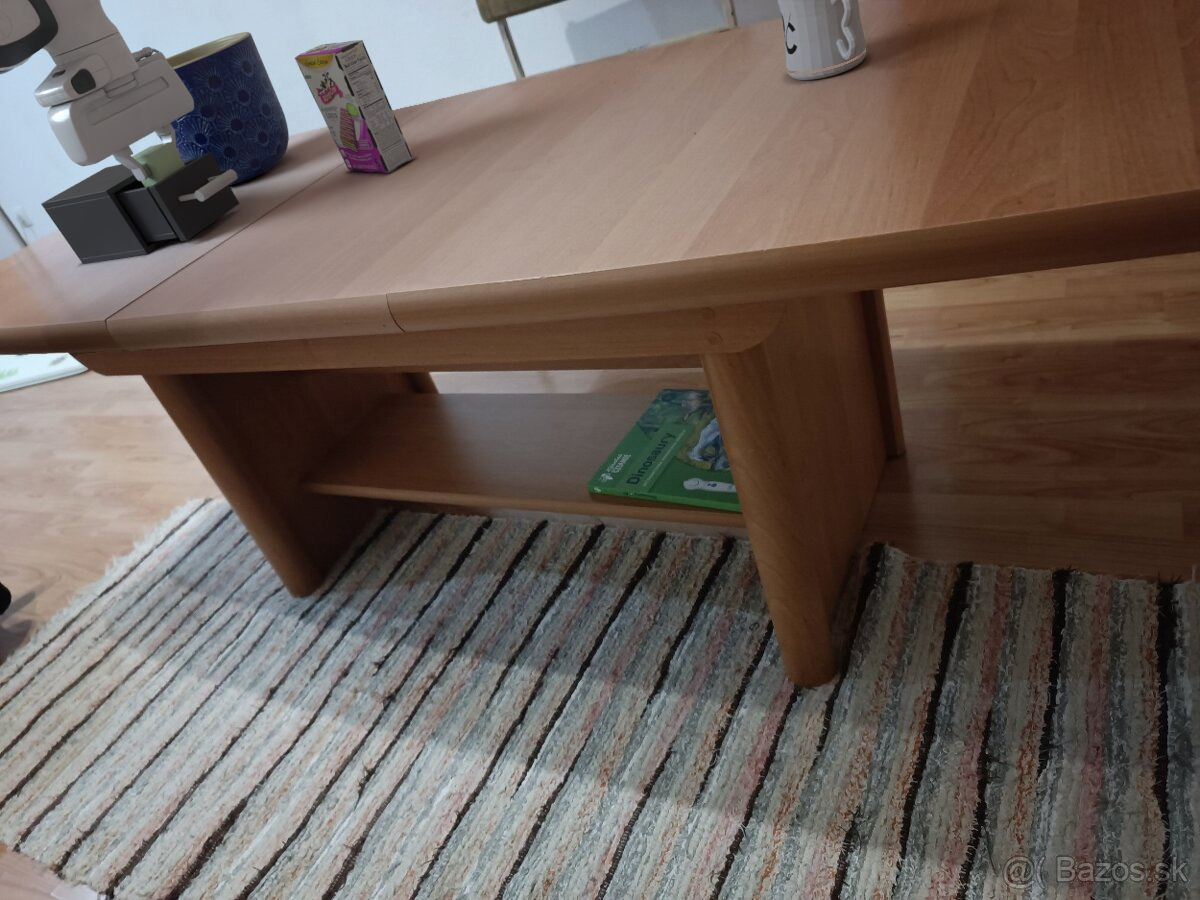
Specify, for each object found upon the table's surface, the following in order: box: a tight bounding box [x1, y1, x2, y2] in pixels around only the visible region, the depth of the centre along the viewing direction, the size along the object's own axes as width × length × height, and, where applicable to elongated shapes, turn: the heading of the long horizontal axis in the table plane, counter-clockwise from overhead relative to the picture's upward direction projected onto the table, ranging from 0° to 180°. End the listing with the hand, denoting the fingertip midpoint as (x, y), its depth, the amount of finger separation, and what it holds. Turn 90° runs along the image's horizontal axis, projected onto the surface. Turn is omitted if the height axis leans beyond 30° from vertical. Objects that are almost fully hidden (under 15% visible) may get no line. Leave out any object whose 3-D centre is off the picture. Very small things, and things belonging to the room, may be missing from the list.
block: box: [131, 142, 185, 187], centre depth 120 cm, size 4×4×4 cm
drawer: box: [114, 152, 240, 243], centre depth 123 cm, size 18×11×8 cm, turn 69°
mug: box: [777, 0, 868, 81], centre depth 96 cm, size 12×9×10 cm
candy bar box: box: [294, 39, 414, 174], centre depth 119 cm, size 11×5×16 cm, turn 47°
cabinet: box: [40, 163, 170, 264], centre depth 128 cm, size 15×13×10 cm
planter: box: [158, 31, 290, 187], centre depth 140 cm, size 21×21×19 cm
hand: (160, 169), depth 120 cm, fingers closed on block, 4 cm apart
